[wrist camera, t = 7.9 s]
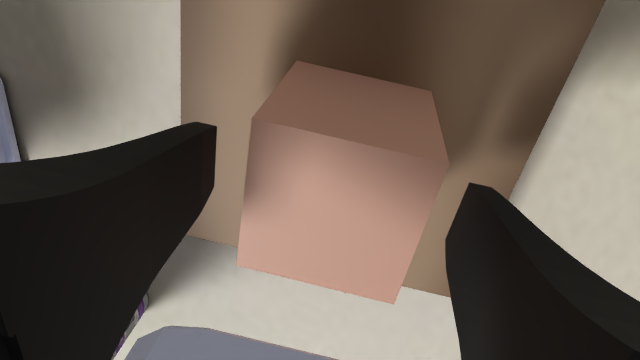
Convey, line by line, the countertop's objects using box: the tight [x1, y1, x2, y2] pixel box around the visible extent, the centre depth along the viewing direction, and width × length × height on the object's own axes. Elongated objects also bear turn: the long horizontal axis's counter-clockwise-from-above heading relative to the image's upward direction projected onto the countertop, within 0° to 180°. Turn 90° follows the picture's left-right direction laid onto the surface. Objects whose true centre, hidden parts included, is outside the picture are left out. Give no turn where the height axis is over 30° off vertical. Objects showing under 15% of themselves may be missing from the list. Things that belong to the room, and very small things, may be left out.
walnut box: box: [181, 0, 605, 297], centre depth 16 cm, size 12×12×4 cm
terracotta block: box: [236, 61, 449, 304], centre depth 12 cm, size 4×4×5 cm
